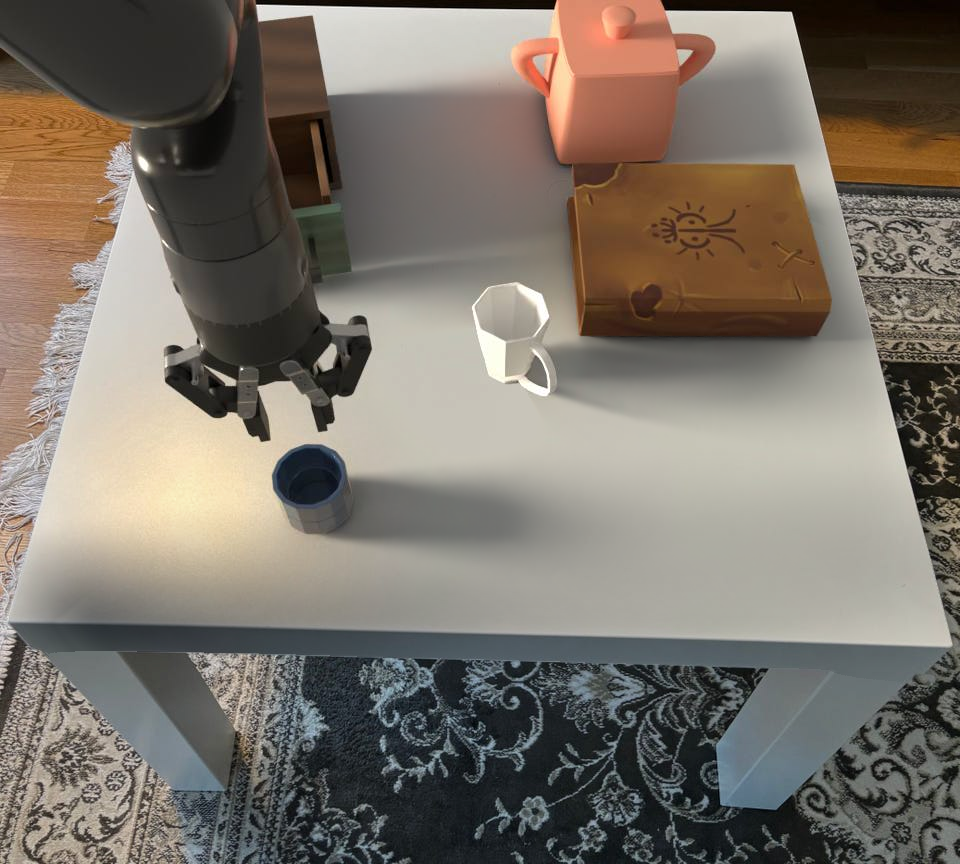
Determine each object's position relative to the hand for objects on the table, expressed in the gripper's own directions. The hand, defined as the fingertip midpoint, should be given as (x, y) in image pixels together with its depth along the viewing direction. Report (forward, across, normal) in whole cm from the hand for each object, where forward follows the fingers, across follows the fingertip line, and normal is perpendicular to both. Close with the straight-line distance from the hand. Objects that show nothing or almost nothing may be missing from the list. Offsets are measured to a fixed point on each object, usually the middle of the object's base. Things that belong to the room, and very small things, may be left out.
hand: (293, 425), depth 66 cm
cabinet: (+13, 0, -46) cm, 48 cm away
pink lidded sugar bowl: (+13, -38, -45) cm, 60 cm away
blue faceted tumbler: (+13, 0, 0) cm, 13 cm away
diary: (+13, -40, -19) cm, 46 cm away
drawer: (+12, 0, -30) cm, 32 cm away
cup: (+13, -20, -10) cm, 26 cm away
